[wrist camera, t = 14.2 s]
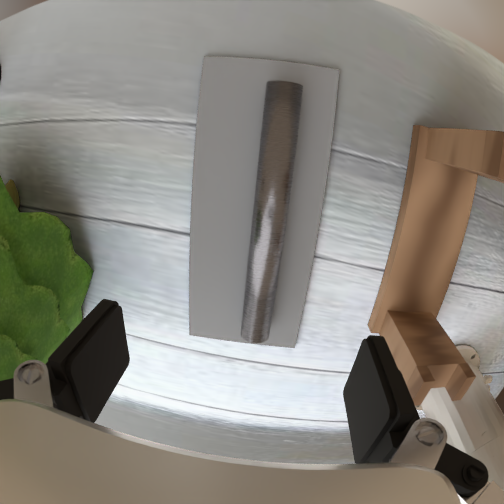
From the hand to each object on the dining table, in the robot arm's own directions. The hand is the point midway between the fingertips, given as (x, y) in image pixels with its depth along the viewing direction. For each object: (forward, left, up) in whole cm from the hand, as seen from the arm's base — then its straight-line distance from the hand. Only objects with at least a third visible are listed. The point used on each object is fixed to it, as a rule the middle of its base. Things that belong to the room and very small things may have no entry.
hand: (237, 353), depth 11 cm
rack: (-18, 0, -19) cm, 26 cm away
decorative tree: (+30, +8, -19) cm, 37 cm away
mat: (0, 0, -19) cm, 19 cm away
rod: (0, 0, -18) cm, 18 cm away
